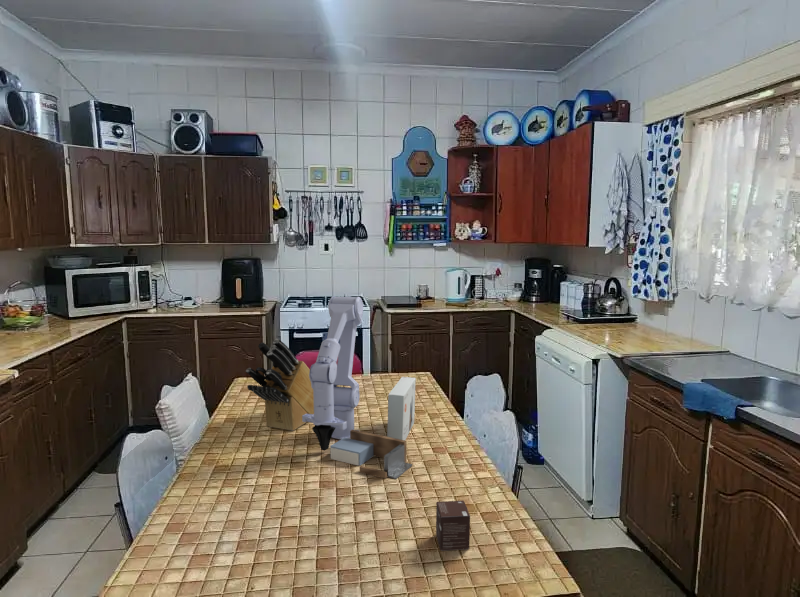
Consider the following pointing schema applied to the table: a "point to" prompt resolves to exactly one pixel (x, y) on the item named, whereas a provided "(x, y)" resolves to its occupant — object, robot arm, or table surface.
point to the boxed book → (352, 451)
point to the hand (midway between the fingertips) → (324, 449)
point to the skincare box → (401, 408)
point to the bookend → (395, 462)
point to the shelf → (377, 448)
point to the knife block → (283, 387)
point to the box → (452, 525)
